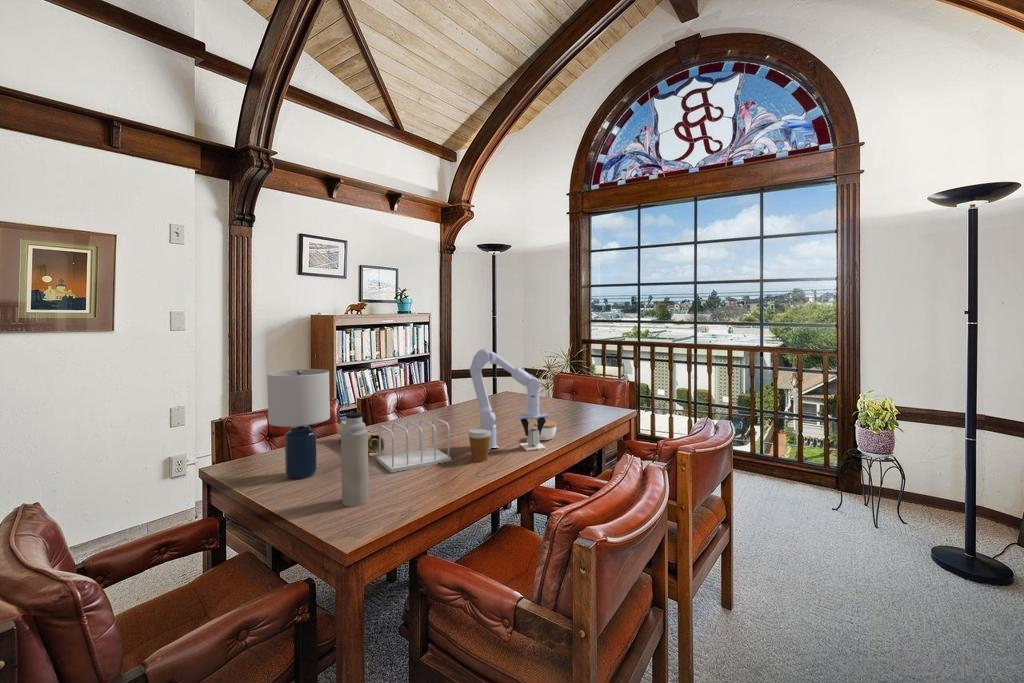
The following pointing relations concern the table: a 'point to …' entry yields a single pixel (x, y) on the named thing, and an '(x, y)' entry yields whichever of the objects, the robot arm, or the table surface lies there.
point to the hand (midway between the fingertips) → (532, 435)
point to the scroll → (372, 440)
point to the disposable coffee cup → (479, 443)
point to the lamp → (299, 414)
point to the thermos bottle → (354, 461)
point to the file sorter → (413, 457)
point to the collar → (533, 437)
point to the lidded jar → (547, 429)
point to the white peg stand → (532, 446)
